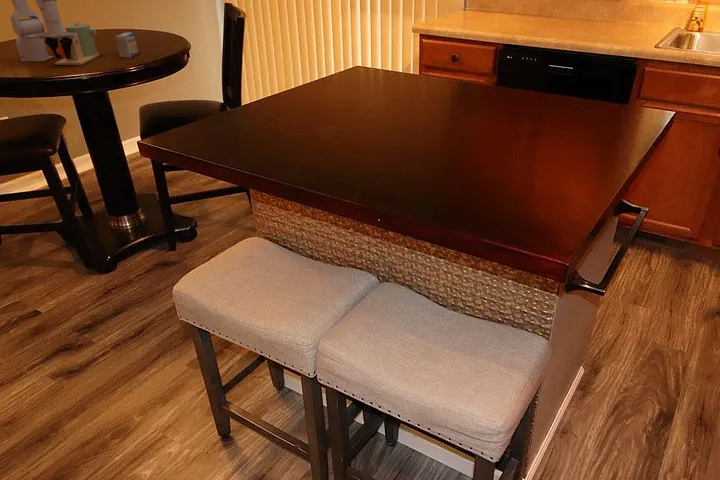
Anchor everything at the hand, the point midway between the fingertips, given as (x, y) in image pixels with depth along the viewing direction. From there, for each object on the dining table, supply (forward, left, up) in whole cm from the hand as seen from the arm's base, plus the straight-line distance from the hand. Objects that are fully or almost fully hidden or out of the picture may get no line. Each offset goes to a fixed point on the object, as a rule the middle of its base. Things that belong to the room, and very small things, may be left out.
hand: (64, 58), depth 220 cm
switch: (0, +4, +2) cm, 4 cm away
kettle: (+1, +16, -3) cm, 17 cm away
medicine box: (+17, +18, -3) cm, 25 cm away
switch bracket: (0, +7, -3) cm, 8 cm away
